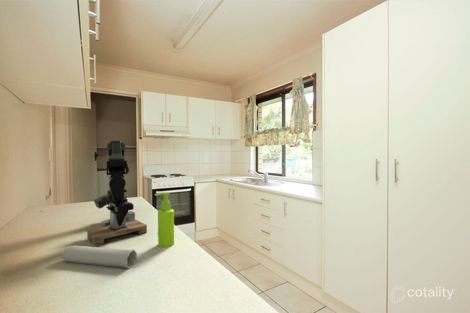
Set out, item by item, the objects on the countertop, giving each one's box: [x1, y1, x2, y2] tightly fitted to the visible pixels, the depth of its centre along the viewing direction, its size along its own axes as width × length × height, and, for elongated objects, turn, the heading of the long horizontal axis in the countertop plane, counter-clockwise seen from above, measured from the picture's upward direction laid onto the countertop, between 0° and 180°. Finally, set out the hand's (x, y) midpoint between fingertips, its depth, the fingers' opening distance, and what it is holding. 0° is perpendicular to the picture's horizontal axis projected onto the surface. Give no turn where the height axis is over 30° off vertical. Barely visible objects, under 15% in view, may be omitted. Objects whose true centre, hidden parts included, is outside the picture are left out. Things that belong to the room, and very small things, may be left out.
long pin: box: [109, 210, 125, 231], centre depth 97 cm, size 4×4×9 cm
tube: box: [61, 245, 138, 270], centre depth 73 cm, size 5×5×25 cm
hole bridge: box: [86, 219, 148, 247], centre depth 97 cm, size 11×20×4 cm, turn 136°
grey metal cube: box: [101, 219, 110, 227], centre depth 105 cm, size 4×4×4 cm
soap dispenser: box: [154, 191, 175, 248], centre depth 88 cm, size 6×7×20 cm
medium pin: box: [125, 210, 136, 222], centre depth 112 cm, size 4×4×6 cm
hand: (117, 224), depth 97 cm, fingers closed on long pin, 4 cm apart
